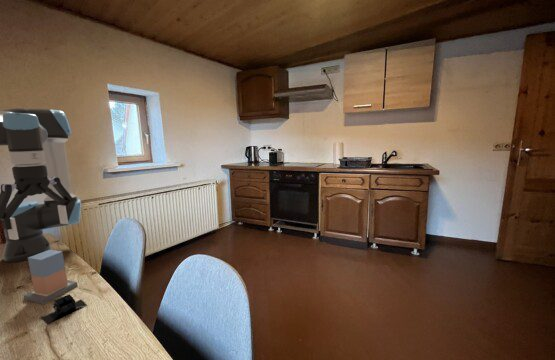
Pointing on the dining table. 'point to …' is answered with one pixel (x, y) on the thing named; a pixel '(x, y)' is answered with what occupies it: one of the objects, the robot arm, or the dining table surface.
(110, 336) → the dining table surface
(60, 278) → the terracotta block
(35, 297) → the blueprint board
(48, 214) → the robot arm
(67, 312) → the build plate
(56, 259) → the blue block
